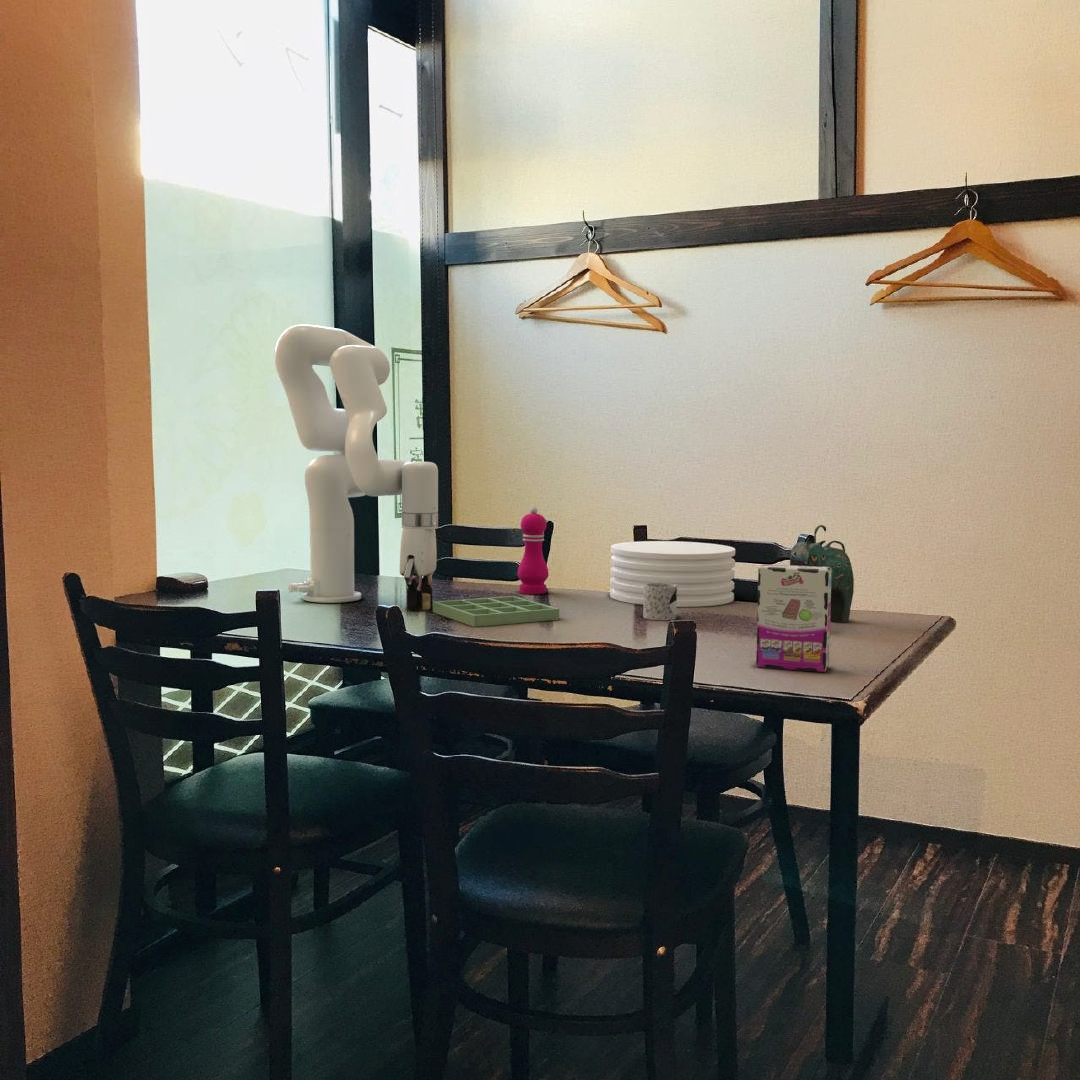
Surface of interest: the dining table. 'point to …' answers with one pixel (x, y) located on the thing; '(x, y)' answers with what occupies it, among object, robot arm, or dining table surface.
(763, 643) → the candy bar box
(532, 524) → the pepper mill
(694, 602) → the plate stack
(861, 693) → the dining table surface
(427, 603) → the token
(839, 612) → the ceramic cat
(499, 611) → the grid
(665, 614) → the mug
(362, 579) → the dining table surface
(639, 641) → the dining table surface
